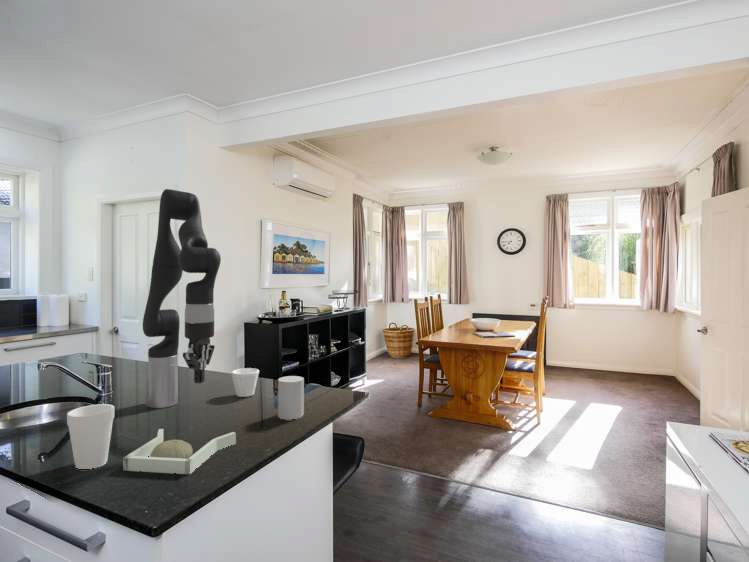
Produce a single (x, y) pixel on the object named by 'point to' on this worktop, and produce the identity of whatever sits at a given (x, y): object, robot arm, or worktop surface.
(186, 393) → the worktop surface
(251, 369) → the cup
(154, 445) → the flared u-shaped rail
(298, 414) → the cup
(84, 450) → the foam cup
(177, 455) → the sea urchin shell
